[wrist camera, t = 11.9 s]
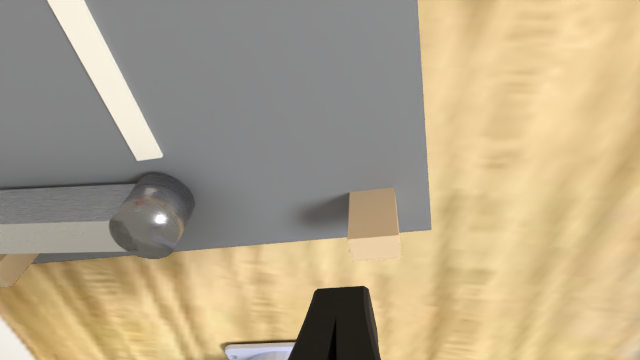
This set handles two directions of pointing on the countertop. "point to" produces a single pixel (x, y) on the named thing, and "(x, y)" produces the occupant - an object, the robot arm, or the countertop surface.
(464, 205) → the countertop surface
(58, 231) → the lock bar
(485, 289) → the countertop surface
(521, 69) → the countertop surface
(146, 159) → the plate
